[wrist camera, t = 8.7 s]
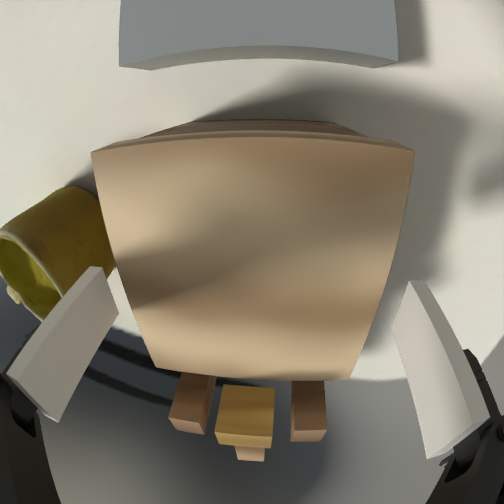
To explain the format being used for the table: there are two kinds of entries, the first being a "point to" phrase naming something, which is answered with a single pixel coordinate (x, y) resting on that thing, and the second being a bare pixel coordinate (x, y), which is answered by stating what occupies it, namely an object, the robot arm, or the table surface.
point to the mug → (53, 248)
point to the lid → (254, 246)
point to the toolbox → (202, 386)
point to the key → (246, 420)
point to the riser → (256, 31)
